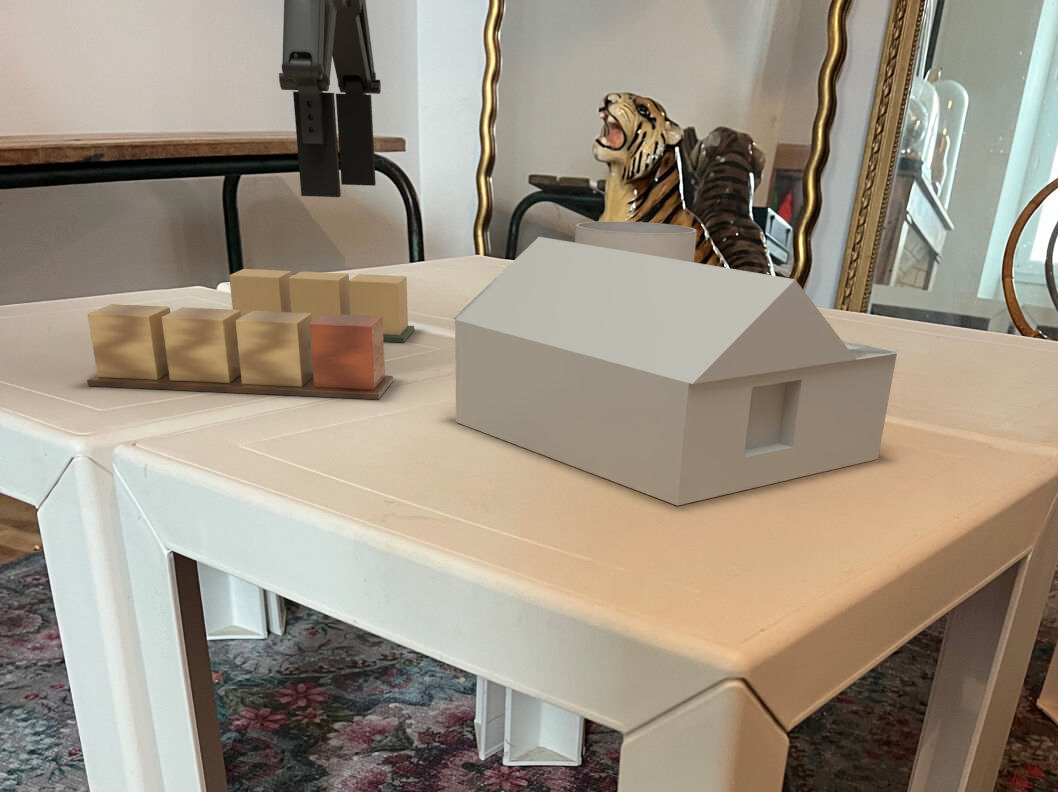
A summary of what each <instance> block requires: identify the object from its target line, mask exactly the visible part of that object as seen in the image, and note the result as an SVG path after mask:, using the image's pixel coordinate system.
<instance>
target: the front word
mask: <svg viewBox="0 0 1058 792" xmlns="http://www.w3.org/2000/svg"><path fill="white" fill-rule="evenodd" d="M87 321H88V325H89V331H90V337H91V343H92V350H93V355H94V362H95V363H94V364H95V369H96V375H94V376H91V377H90V378H88V379H87V380H86V382H87V386H88V387H99V388H101V387H102V388H125V389H145V390H164V391H165V390H167V391H191V392H209V393H210V392H211V393H227V394H229V393H231V394H251V395H271V396H272V395H273V396H293V397H294V396H295V397H313V398H315V397H317V398H334V399H335V398H337V399H338V398H340V399H358V400H379V399H381V398H382V396H383V394H384V393H385V392H386V391H387V389H388V388H389V387H390V386H391V385H392V383H393V382H394V375H388V374H387V375H386V374H385V378H384V379H383V380H382V382H381V383H380V384H379V385H378V386H377V387H376V389H375V390H357V389H336V388H315V387H314V376H313V362H312V348H311V334H310V323H312V314H311V313H295V312H273V311H251V312H250V313H248V314H246V315H244V316H243V317H241V311H240V310H233V309H227V308H226V309H224V308H206V307H205V308H203V307H185V306H184V307H181V308H178V309H176V310H174V311H172V312H171V306H160V305H142V304H141V305H140V304H118V303H111V304H109V305H105V306H103V307H101V308H99V309H95V310H93V311H91V312H88V313H87Z"/></svg>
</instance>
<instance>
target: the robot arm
mask: <svg viewBox="0 0 1058 792" xmlns="http://www.w3.org/2000/svg"><path fill="white" fill-rule="evenodd" d="M282 28H283V31H282V61H281V71H282V72H278V81H279V86H280V89H281V90H282V91H292V97H293V108H294V122H295V135H296V146H297V159H298V160H297V161H298V170H299V171H298V172H299V181H300V182H299V183H300V184H299V185H300V195H301V197H318V198H320V197H321V198H322V197H323V198H340V197H342V194H341V193H342V192H341V185H343V186H372V187H373V186H376V169H375V168H376V166H375V164H376V163H375V162H376V161H375V145H374V143H375V141H374V124H373V122H374V121H373V105H372V104H373V101H372V95H374V94H376V95H380V94H381V91H382V83H381V79H377V73H376V71H375V65H374V56H373V48H372V41H371V32H370V25H369V17H368V9H367V1H366V0H283V27H282ZM332 60H333V61H332ZM332 62H333V65H334V71H335V75H336V80H337V87H338V89H339V92H340V93H334V92H329V91H330V86H331V72H332Z"/></svg>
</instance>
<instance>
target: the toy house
mask: <svg viewBox="0 0 1058 792" xmlns="http://www.w3.org/2000/svg"><path fill="white" fill-rule="evenodd" d="M452 320H454V327H455V328H454V340H455V341H454V344H455V345H454V346H455V348H454V349H455V350H454V351H455V354H454V355H455V356H454V358H455V422H456V423H457V424H460V425H463V426H466V427H468V428H471V429H474V430H476V431H479V432H480V433H484V434H487V435H489V436H492V437H495V438H496V439H499V440H502V441H505V442H508V443H510V444H513V445H515V446H518V447H521V448H524V449H526V450H529V451H531V452H534V453H537V454H540V455H542V456H544V457H548V458H549V459H553V460H555V461H558V462H561V463H563V464H566V465H569V466H572V467H573V468H577V469H579V470H582V471H583V472H584V471H585V472H587V473H590V474H592V475H595V476H597V477H601V478H603V479H606V480H609V481H611V482H613V483H616V484H619V485H622V486H624V487H627V488H630V489H632V490H635V491H638V492H640V493H643V494H645V495H648V496H650V497H654V498H656V499H659V500H661V501H664V502H666V503H669V504H672V505H675V506H677V507H678V506H683V505H687V504H691V503H694V502H699V501H704V500H708V499H712V498H716V497H720V496H725V495H729V494H734V493H739V492H742V491H746V490H747V491H748V490H751V489H756V488H759V487H764V486H769V485H772V484H777V483H782V482H785V481H790V480H794V479H798V478H802V477H807V476H811V475H815V474H819V473H820V474H821V473H825V472H828V471H833V470H837V469H842V468H845V467H850V466H855V465H859V464H863V463H867V462H870V461H875V460H879V455H880V451H881V445H882V439H883V434H884V429H885V428H884V427H885V423H886V416H887V411H888V406H889V399H890V394H891V389H892V384H893V378H894V374H895V373H894V372H895V367H896V366H895V365H896V362H897V361H896V360H897V355H898V354H904V353H905V351H900V350H896V349H892V348H887V347H882V346H877V345H872V344H867V343H862V342H857V341H853V340H848V339H843V338H841V337H840V336H839V335H838V333H837V332H836V331H835V330H834V328H833V327H832V326H831V324H830V323H829V322H828V320H827V319H826V318H825V317H824V315H823V314H822V312H821V311H820V310H819V309H818V307H817V306H816V305H815V303H814V302H813V301H812V300H811V298H810V296H808V294H807V293H806V292H805V290H804V289H803V288H802V286H801V285H800V283H798V281H797V280H796V279H795V278H789V277H783V276H777V275H771V274H765V273H759V272H754V271H753V272H752V271H748V270H742V269H735V268H729V267H723V266H718V265H711V264H705V263H700V262H695V261H694V262H688V261H682V260H676V259H670V258H664V257H658V256H652V255H646V254H640V253H634V252H628V251H622V250H616V249H610V248H604V247H598V246H592V245H586V244H580V243H575V241H569V240H568V241H567V240H561V239H556V238H550V237H545V236H538V237H537V238H536V239H535V240H534V241H533V242H531V244H529V246H527V247H526V249H524V250H523V251H522V252H520V254H519V255H518V256H517V257H516V258H515V259H514V260H513V261H512V262H510V263H509V265H508V266H507V267H506V268H505V269H503V270H502V272H500V273H499V274H498V275H497V276H496V277H495V278H494V279H493V280H492V281H491V282H490V283H489V284H487V286H485V288H483V289H482V291H480V292H479V293H478V294H476V296H475V297H473V299H472V300H471V301H470V302H468V304H467V305H466V306H464V308H462V309H461V310H460V311H459V312H458V313H457V314H456V315H455V316H454V317H453V318H452Z"/></svg>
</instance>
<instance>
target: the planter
mask: <svg viewBox="0 0 1058 792" xmlns="http://www.w3.org/2000/svg"><path fill="white" fill-rule="evenodd" d="M574 225H575V226H574V227H575V228H574V243H580V244H586V245H592V246H598V247H604V248H610V249H616V250H622V251H628V252H634V253H640V254H646V255H652V256H658V257H664V258H670V259H676V260H682V261H688V262H694V263H695V256H696V255H695V254H696V244H697V232H698V231H697V229H696V228H693V227H689V226H684V225H679V224H678V225H677V224H670V223H669V224H668V223H657V222H644V221H643V222H642V221H618V220H617V221H608V220H607V221H605V220H604V221H585V222H579V223H576V224H574Z"/></svg>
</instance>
